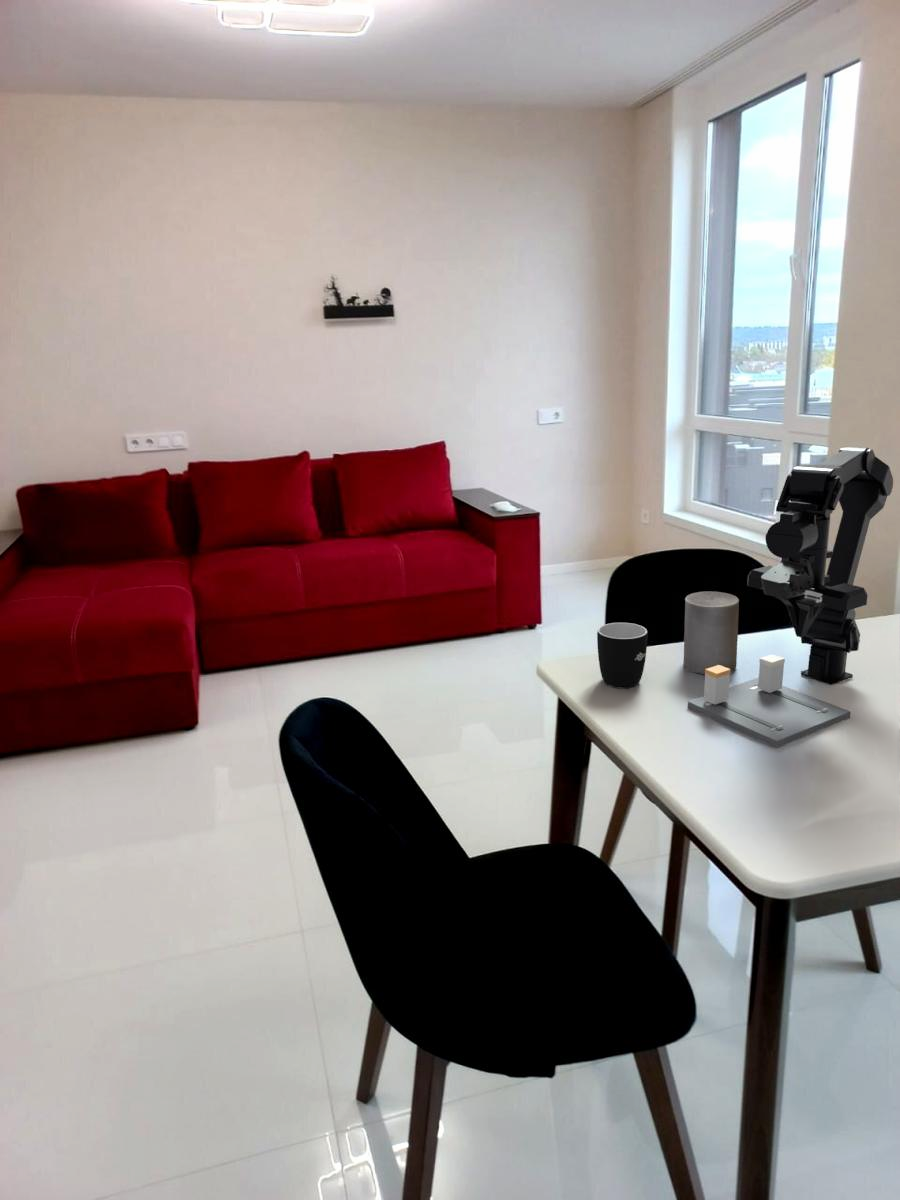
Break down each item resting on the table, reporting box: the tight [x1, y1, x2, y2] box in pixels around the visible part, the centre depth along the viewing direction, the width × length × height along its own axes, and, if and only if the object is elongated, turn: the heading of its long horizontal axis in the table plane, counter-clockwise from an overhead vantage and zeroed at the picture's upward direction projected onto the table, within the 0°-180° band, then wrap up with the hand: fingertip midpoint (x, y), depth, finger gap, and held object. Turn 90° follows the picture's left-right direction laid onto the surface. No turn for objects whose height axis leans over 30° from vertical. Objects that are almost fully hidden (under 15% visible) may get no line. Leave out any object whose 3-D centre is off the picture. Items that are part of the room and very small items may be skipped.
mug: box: [596, 622, 648, 689], centre depth 151 cm, size 12×9×10 cm
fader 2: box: [758, 653, 786, 693], centre depth 141 cm, size 3×2×6 cm
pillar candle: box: [683, 590, 740, 675], centre depth 154 cm, size 10×10×15 cm
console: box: [687, 677, 852, 749], centre depth 136 cm, size 18×18×1 cm
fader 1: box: [703, 665, 732, 705], centre depth 137 cm, size 3×2×6 cm
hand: (800, 636), depth 136 cm, fingers closed
